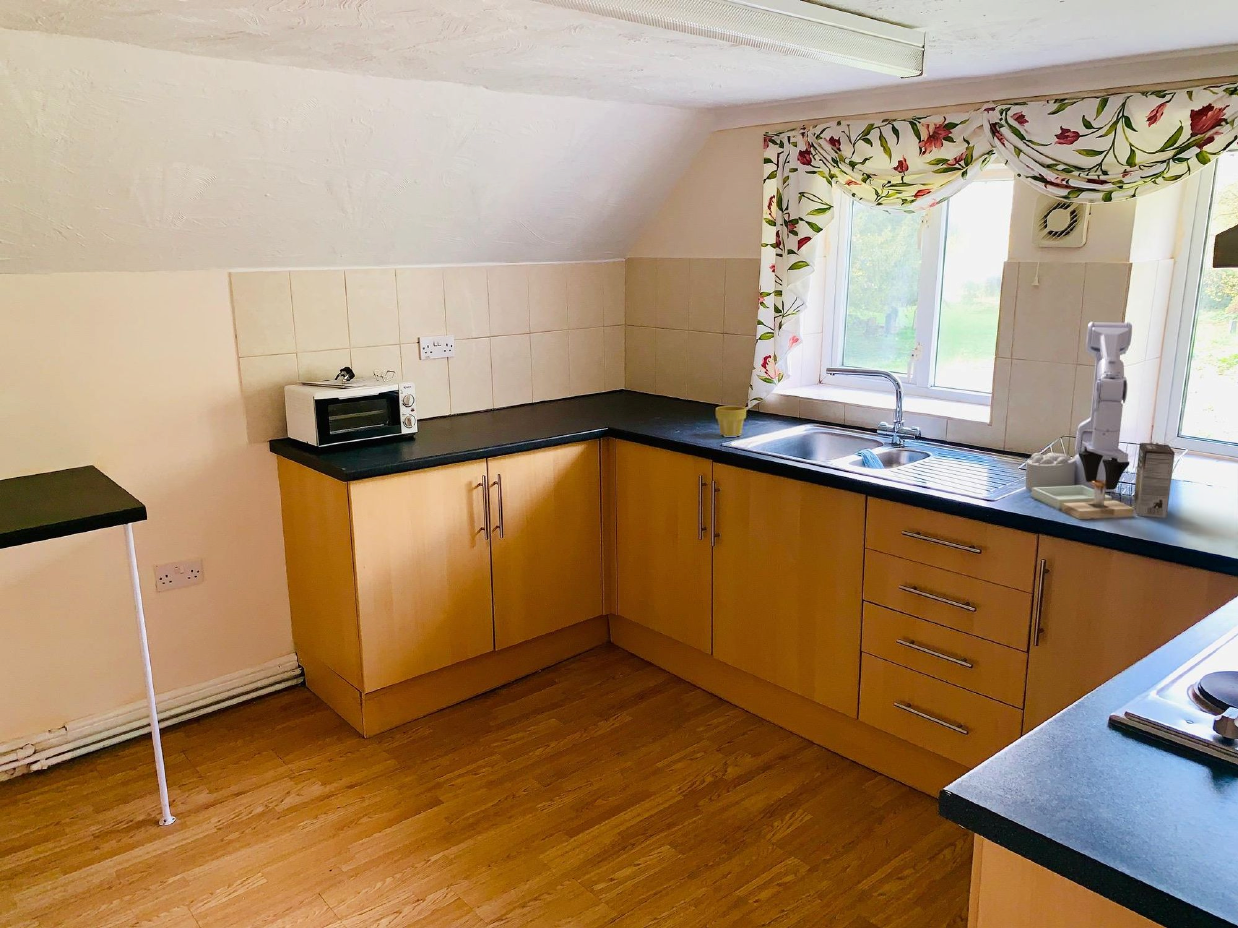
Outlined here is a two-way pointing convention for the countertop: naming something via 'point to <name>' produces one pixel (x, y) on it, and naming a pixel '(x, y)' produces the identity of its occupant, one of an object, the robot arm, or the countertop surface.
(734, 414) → the plant pot
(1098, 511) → the tan flat rectangular block
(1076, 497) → the tray
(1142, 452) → the coffee box
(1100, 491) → the pin
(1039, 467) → the lumpy-topped squat cylinder
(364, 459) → the countertop surface
